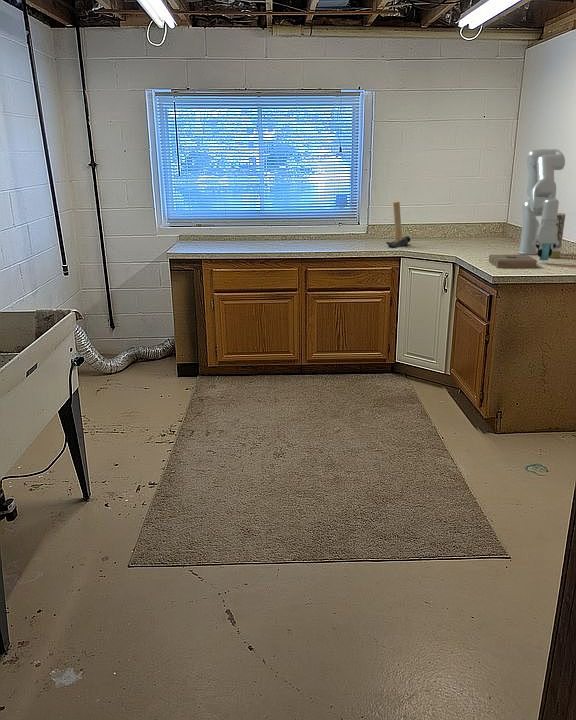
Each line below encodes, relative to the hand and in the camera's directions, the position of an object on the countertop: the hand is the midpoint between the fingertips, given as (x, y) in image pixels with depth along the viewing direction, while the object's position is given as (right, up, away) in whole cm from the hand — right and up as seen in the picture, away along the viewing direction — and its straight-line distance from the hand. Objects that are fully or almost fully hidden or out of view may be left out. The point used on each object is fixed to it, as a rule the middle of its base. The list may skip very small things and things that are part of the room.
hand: (544, 256), depth 327 cm
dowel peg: (0, -2, +1) cm, 2 cm away
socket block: (-18, -5, -1) cm, 19 cm away
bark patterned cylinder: (+14, +2, +20) cm, 24 cm away
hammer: (-67, +19, +73) cm, 101 cm away
